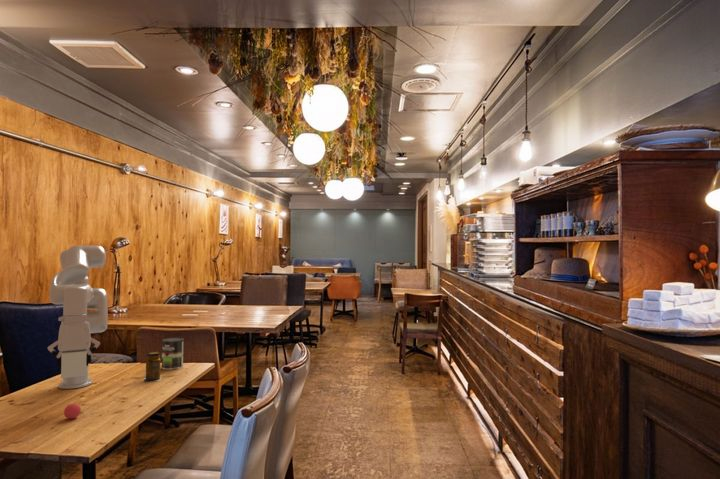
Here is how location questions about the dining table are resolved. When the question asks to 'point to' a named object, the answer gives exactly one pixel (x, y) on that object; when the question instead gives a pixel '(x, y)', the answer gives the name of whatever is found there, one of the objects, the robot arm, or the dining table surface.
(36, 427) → the dining table surface
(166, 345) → the coffee can
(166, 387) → the dining table surface
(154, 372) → the condiment
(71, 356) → the matte cream cube
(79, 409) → the ball
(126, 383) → the dining table surface
